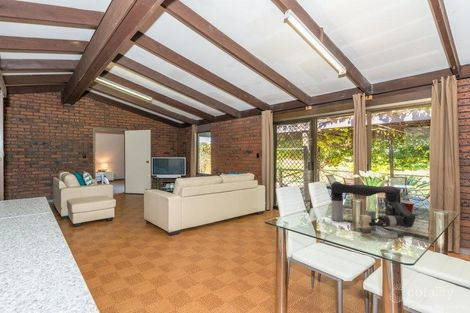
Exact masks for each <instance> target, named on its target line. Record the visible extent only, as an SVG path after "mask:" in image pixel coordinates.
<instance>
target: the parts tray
mask: <svg viewBox="0 0 470 313" xmlns="http://www.w3.org/2000/svg"><path fill="white" fill-rule="evenodd" d="M357 227H358V229H360V224H357ZM371 235H373V236H375V237H377V238H379V239H383V240H384V239H393V238H395V239H396V238H398V237H399V236H398V234H397V233H394V232H392V231H390V230H389V229H388V230H387V229H385V228H384V227H378V226H376V230H371Z"/></svg>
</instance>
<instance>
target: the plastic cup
mask: <svg viewBox="0 0 470 313" xmlns="http://www.w3.org/2000/svg"><path fill="white" fill-rule="evenodd" d="M400 203H402V204H404V205H405V206H406V208H407V209H408V211H410V212H411V213H413V208H414V205H415V204H416V203H415V202H414V201H411V200H400Z"/></svg>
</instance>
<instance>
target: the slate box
mask: <svg viewBox="0 0 470 313" xmlns="http://www.w3.org/2000/svg"><path fill="white" fill-rule="evenodd" d="M376 213H377V212H376V211H375V210H373V209H365V210H364V215H368V216H371V217H373V218H377V215H376ZM371 222H372V221H371ZM371 230H376V226H371Z"/></svg>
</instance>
